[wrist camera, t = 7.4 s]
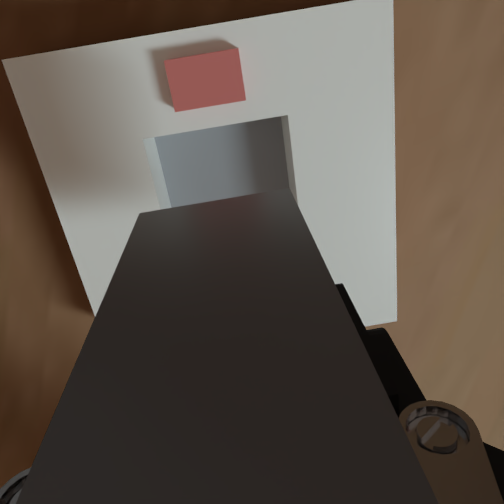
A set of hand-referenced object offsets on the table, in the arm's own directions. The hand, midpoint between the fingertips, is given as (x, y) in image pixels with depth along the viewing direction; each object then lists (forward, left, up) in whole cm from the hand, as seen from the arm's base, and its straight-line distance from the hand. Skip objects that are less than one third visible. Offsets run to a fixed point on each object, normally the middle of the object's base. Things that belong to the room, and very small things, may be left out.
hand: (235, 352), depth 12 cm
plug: (0, +1, -3) cm, 4 cm away
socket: (0, 0, -15) cm, 15 cm away
